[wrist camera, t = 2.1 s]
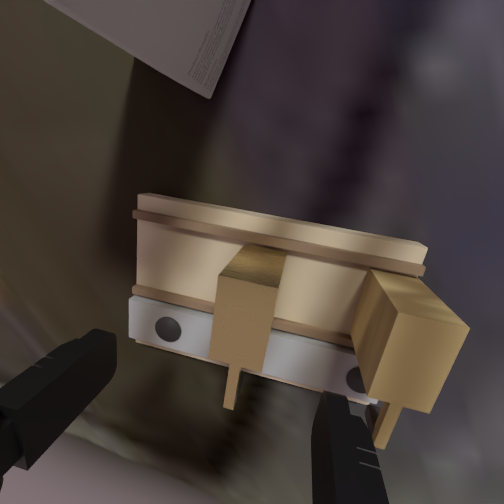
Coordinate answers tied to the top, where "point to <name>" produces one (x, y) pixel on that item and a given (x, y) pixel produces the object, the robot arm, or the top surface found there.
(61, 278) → the top surface
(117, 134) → the top surface
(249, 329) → the slider leg
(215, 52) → the skincare box
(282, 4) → the top surface
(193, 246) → the gauge board
